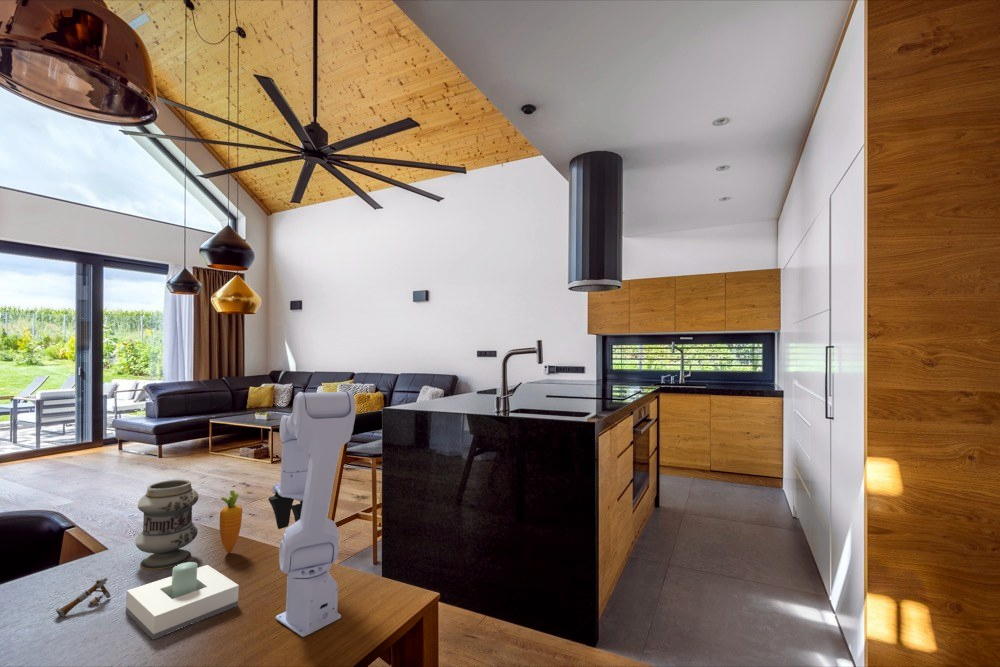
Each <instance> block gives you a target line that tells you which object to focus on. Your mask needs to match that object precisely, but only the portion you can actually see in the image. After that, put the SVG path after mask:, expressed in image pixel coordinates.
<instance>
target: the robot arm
mask: <svg viewBox="0 0 1000 667" xmlns="http://www.w3.org/2000/svg"><path fill="white" fill-rule="evenodd" d="M292 403H293V404H292V412H291V414H290V415H286V414H283V415H282V416H281V419H280V422H279V438H280V442H281V462H280V463H281V464H280V482H278V483H273V484H272V490H271V491H272V494H274V495H272V496H269V497H268V499H267V500H268V502H269V503H270V505H271V507H272V510H273V514H274V517H275V521H276V527H277V529H278V530H281V529H285V530H284V533H283V534H282V539H281V541H279V548H278V549H279V550H278V561H279V567H280V571H281V572H282V573H283V574H285V575H286V574H287V577H286V597H285V601H286V602H285V611H282V613H279V614H277V615H276V616H275V620H277V621H278V622H279V623H280V624H283V625H284V626H286V627H287V628H288V629H290V630H291V631H293V632H295V633H296V634H297V635H299V636H301V637H303V638H304V637H306V636H309V635H310V634H313V633H315V632H316V631H318V630H320V629H322V628H324V627H326V626H328V625H329V624H332V623H334V622H335V621H337V620H340V619H341V617H342V615H341V614H340V613H339V612H338V608H339V607H338V604H339V585H338V582H337V581H336V579H334V578H333V576H332V575H331V574H330V570H331V569H332V565H333V564H335V562H336V561H337V560H338V557H339V549H340V546H339V540H340V534H339V528H338V526H337V525H336V522H335V521H334V520H332V519H330V518H328V516H329V515H328V514H329V510H330V505H331V499H332V493H333V489H334V482H335V477H336V472H337V467H338V461H339V459H340V458H339V457H340V453H341V449H342V447H343V446H344V445H345V444H347V443H349V442H350V441H351V437H352V435H353V432H354V425H355V420H356V415H357V414H356V399H355V396H354V395H353V393H352V392H351V391H350V390H345V391H330V392H329V391H328V392H326V391H325V392H324V391H322V392H304V391H298V392H297V394H296V395H294V399H293V402H292ZM294 501H298V502H299V503H297V504H294ZM291 511H292V513H293V518H294V523H292V524H290V520H291Z"/></svg>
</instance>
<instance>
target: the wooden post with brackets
mask: <svg viewBox="0 0 1000 667" xmlns="http://www.w3.org/2000/svg"><path fill="white" fill-rule="evenodd" d="M107 581H108V577H104V578H100V579H97V580H96V581H95V583H94V585H92V586H91V587H90V588H89V589H86V590H84V591H83V592H82V593H81V594H80V595H78V596H77V597H76V598H75V599H73V600H72V601H71V602H68V603H67V604H66V605H63V607H57V608H55V609H54V610H55V612H56V614H57V615H58V617H59V616H61V617H62V618H63V619H66V618H67V616H66V615H67V614H68V613H69V612H70V611H72V610H73V609H74V608H75V607H76V606H77V605H78V604H80V603H82V602H83V601H85V600H86V599H88V598H89V597H90V596H91V595H92V594H93V593H94V592H98V593H99V592H100V593H101V592H102V594H101V595H99V596H95V597H94V598H93V599H91V600H90V601H88V602H89V603H88V604H87V607H88V608H89V607H92V606H93V607H94V606H96V604H99V603H101V599H103V597H104V596H105V598H107V599H109V598H110V597H112V595H111V594H110V591H109V590H108V589H107V588H106V587H105V585H106V584H107ZM98 589H99V590H98Z"/></svg>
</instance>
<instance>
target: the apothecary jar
mask: <svg viewBox="0 0 1000 667" xmlns="http://www.w3.org/2000/svg"><path fill="white" fill-rule="evenodd" d="M146 489H147V490H146V493H145V494H144V495H143V496H142V497H141V498H140V499H139V501H138V502H137V509H138V510H139V511H140V512H141V513H143V526H142V531H141V532H140V533H139V534H138V535H137V536H136V539H135V546H136V548H137V549H138V550H140V551H141V552H144V553H147V554H149V556H147V557H145V558H143V559H142V560H141V562H140V564H139V566H140V568H141V569H144V570H146V571H157V569H159V570H165V569H170V568H174V567H175V566H176V565H179V564H182V563H186V562H187V561H188V560H190V559H191V557H192V553H191V552H190V550H187V549H182V548H184V547H186V546H187V545H189V544H191V543H192V542H193V541H194V540H195V539H196V537H197V535H198V533H199V532H198V527H197V525H196V524H195V523H194V522H193V517H192V516H193V512H192V511H193V506H194V505H195V504H196V503H197V502H198V500H199V494H198V492H197V490H196V489H193V486H192V482H191V480H189V479H169V480H163V481H159V482H158V481H157V482H154V483H152V484H149V485H148V487H147V488H146ZM189 558H190V559H189ZM185 561H186V562H185ZM173 566H174V567H173ZM169 567H170V568H169Z"/></svg>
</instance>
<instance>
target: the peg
mask: <svg viewBox="0 0 1000 667" xmlns="http://www.w3.org/2000/svg"><path fill="white" fill-rule="evenodd" d="M197 568H198V563H197V562H194V561H188V562H187V561H186V562H184V563H182V564H179V565H177V566H174V567H172V574H171V576H172V589H171V599H174V598H177V597H180V596H183V595H185V594H188V593H191V592H194V591H196V582H197Z"/></svg>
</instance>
